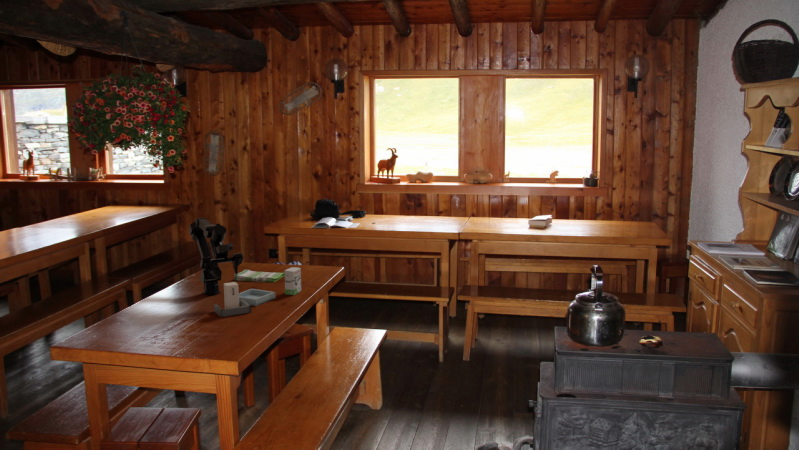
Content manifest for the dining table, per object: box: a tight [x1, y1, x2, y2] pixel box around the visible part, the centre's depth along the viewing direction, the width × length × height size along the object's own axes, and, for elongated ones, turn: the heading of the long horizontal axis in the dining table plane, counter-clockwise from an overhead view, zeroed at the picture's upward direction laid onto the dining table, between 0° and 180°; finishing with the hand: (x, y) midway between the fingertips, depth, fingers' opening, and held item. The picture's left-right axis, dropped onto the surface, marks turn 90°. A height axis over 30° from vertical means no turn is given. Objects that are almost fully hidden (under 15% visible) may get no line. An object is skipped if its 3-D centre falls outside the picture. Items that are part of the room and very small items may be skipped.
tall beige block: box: [223, 281, 240, 309], centre depth 290 cm, size 6×5×12 cm
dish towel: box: [233, 269, 285, 283], centre depth 351 cm, size 17×23×4 cm
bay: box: [213, 300, 252, 318], centre depth 291 cm, size 11×13×3 cm
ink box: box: [284, 266, 302, 296], centre depth 320 cm, size 9×5×12 cm, turn 163°
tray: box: [239, 288, 276, 307], centre depth 309 cm, size 14×14×3 cm
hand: (226, 276), depth 297 cm, fingers open, 9 cm apart
